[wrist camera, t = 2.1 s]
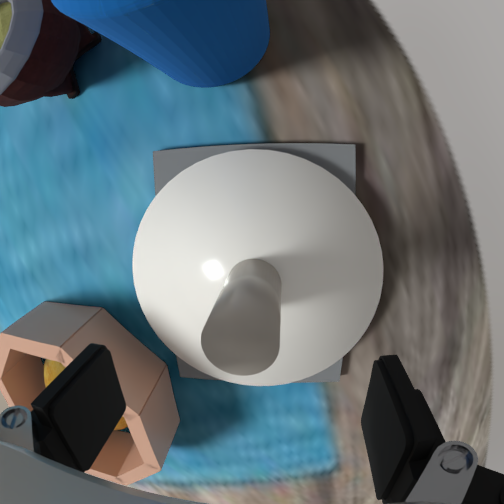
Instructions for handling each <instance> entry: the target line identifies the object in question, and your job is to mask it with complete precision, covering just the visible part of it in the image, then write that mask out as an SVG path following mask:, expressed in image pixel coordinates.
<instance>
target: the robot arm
mask: <svg viewBox="0 0 504 504" xmlns="http://www.w3.org/2000/svg"><path fill="white" fill-rule="evenodd" d="M31 406H32V408H33V410H32V411H31V412H30V411H29V409H28V408H26V407H24V406H20V405H19V406H12V407H9V408H7V409H5V410H4V411H3V412H2V413H1V414H0V504H207V503H200V502H194V501H188V500H182V499H177V498H172V497H167V496H162V495H158V494H154V493H149V492H145V491H141V490H138V489H134V488H130V487H127V486H123V485H120V484H116V483H113V482H110V481H107V480H104V479H100V478H98V477H95V476H92V475H89V474H86V473H84V472H85V471H88V470H89V469H90V468H91V466H92V464H93V463H94V461H95V459H96V458H97V456H98V455H99V453H100V451H101V450H102V448H103V446H104V445H105V443H106V442H107V440H108V438H109V437H110V435H111V433H112V432H113V430H114V429H115V427H116V425H117V424H118V422H119V421H120V419H121V417H122V416H123V414H124V412H125V410H126V402H125V399H124V396H123V393H122V389H121V386H120V383H119V380H118V376H117V373H116V370H115V366H114V363H113V359H112V355H111V352H110V350H108V349H107V347H106V346H105V345H101V344H95V343H90V344H89V345H88V346H87V347H86V348H85V349H84V350H83V351H82V352H81V353H80V354H79V355H78V356H77V357H76V358H75V359H74V360H73V361H72V362H71V363H70V364H69V365H68V366H67V367H66V368H65V369H64V370H63V371H62V372H61V373H60V374H59V375H58V376H57V377H56V378H55V379H54V380H53V381H52V382H51V383H50V384H49V385H48V386H47V387H46V388H45V389H44V390H43V391H42V392H41V393H40V394H39V395H38V396H37V397H36V399H35V400H34V401H33V402H32V403H31ZM361 426H362V430H363V435H364V439H365V444H366V448H367V453H368V457H369V462H370V467H371V472H372V477H373V482H374V487H375V492H376V497H377V499H378V500H381V499H382V502H383V504H504V474H501V473H498V472H496V471H493V470H490V469H487V468H485V467H482V466H479V465H477V463H478V457H477V453H476V452H475V450H474V449H473V448H472V447H471V446H470V445H468V444H466V443H464V442H460V441H449V442H445V440H444V438H443V436H442V434H441V431H440V429H439V427H438V425H437V423H436V421H435V419H434V417H433V415H432V413H431V411H430V408H429V406H428V404H427V402H426V400H425V398H424V396H423V394H422V393H421V391H420V390H418V389H416V390H415V389H414V387H413V385H412V383H411V381H410V379H409V377H408V375H407V373H406V371H405V369H404V367H403V365H402V363H401V361H400V360H399V358H398V356H397V355H386V356H380V358H379V360H375V361H374V364H373V368H372V373H371V378H370V383H369V388H368V392H367V397H366V401H365V405H364V409H363V413H362V418H361Z"/></svg>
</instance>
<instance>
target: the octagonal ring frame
mask: <svg viewBox="0 0 504 504" xmlns="http://www.w3.org/2000/svg"><path fill="white" fill-rule="evenodd" d="M90 343H95V344H101V345H105V346H106V347H107V349H108V350H110V352H111V355H112V359H113V363H114V366H115V370H116V373H117V376H118V380H119V383H120V386H121V389H122V393H123V396H124V399H125V402H126V410H125V412H124V414H123V417H124V418H125V420H126V423H127V425H128V428H129V430H130V433H127V432H123V431H119V430H113V432H112V433H111V435H110V437H109V438H108V440H107V442H106V443H105V445H104V446H103V448H102V450H101V451H100V453H99V455H98V456H97V458H96V459H95V461H94V463H93V464H92V466H91V468H90V469H89V470H88V471H85V473H88V474H91V475H94V476H97V477H100V478H103V479H106V480H109V481H112V482H115V483H119V484H122V485H129V484H131V483H134V482H136V481H139V480H141V479H143V478H146V477H148V476H150V475H152V474H155V473H157V472H159V471H161V469H162V466H163V464H164V461H165V459H166V456H167V453H168V451H169V448H170V446H171V443H172V440H173V438H174V435H175V433H176V430H177V428H178V425H179V422H180V418H179V414H178V410H177V406H176V402H175V398H174V393H173V389H172V385H171V380H170V376H169V371H168V367H167V365H166V363H165V362H164V361H162V360H161V359H160V358H159V357H157V356H156V355H155V354H154V353H153V352H152V351H150V350H149V349H148V348H147V347H146V346H145V345H143V344H142V343H141V342H140V341H139V340H138V339H136V338H135V337H134V336H133V335H132V334H131V333H130V332H129V331H128V330H126V329H125V328H124V327H123V326H122V325H121V324H120V323H119V322H118V321H117V320H116V319H114V318H113V317H112V316H111V315H110V314H109V313H108V312H107V311H106V310H105V309H104V308H103V309H102V307H93V306H82V305H73V304H63V303H54V302H46V301H44V302H43V303H41V304H40V305H38V306H37V307H36V308H34V309H33V310H31V311H30V312H29V313H27V314H26V315H24V316H23V317H22V318H20V319H19V320H17V321H16V322H15V323H13V324H12V325H11V326H9V327H8V328H7V329H5V330H4V331H3V332H1V334H0V390H1V392H2V394H3V396H4V398H5V400H6V401H7V403H8V405H9V407H12V406H19V405H20V406H24V407H26V408H28V409H29V411H30V412H31V411H32V410H33V408H32V406H31V403H32V402H33V401H34V400H35V399H36V397H37V396H38V395H39V394H40V393H41V392H42V391H43V390H44V389H45V388H46V386H45V381H44V366H43V363H42V361H41V358H45V359H49V360H53V361H57V362H61V363H62V364H63V365H64V366H65V367H67V366H68V365H69V364H70V363H71V362H72V361H73V360H74V359H75V358H76V357H77V356H78V355H79V354H80V353H81V352H82V351H83V350H84V349H85V348H86V347H87V346H88V345H89V344H90ZM40 357H41V358H40Z"/></svg>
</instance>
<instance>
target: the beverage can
mask: <svg viewBox="0 0 504 504" xmlns="http://www.w3.org/2000/svg"><path fill="white" fill-rule="evenodd" d="M51 1H52V3H53V5H54V6H55V7H56V8H57V9H58V10H59V11H60V12H62V13H63V14H65V15H67V16H69V17H70V18H72V19H74V20H76V21H78V22H80V23H82V24H84V25H85V26H87V27H89V28H91V29H93V30H95V31H96V32H98V33H100V34H102V35H103V36H105V37H107V38H109V39H110V40H112V41H114V42H116V43H117V44H119V45H121V46H122V47H124V48H126V49H127V50H129V51H131V52H132V53H134V54H135V55H137V56H139V57H140V58H142V59H144V60H145V61H147V62H148V63H150V64H151V65H153V66H155V67H156V68H158V69H159V70H161V71H162V72H164V73H165V74H167V75H168V76H170V77H171V78H173V79H174V80H176V81H178V82H180V83H183V84H185V85H189V86H193V87H216V86H221V85H225V84H228V83H230V82H233V81H235V80H237V79H239V78H241V77H242V76H244V75H245V74H247V73H248V72H249V71H251V70H252V69H253V68H254V67H255V66H256V65H257V64H258V62H259V61H260V60H261V58H262V57H263V55H264V53H265V52H266V49H267V46H268V43H269V39H270V28H269V20H268V12H267V4H266V0H51Z"/></svg>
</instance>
